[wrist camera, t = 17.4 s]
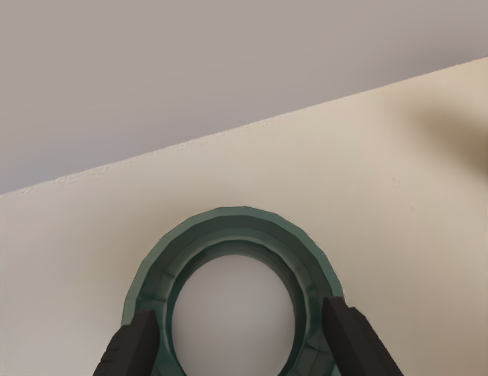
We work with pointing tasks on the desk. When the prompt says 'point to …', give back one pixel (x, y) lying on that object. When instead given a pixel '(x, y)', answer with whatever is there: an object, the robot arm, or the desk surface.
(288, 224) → the green flower pot
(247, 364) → the lightbulb
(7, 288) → the desk surface
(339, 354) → the robot arm
